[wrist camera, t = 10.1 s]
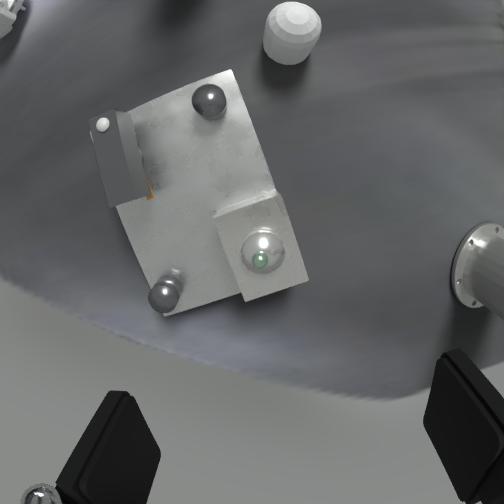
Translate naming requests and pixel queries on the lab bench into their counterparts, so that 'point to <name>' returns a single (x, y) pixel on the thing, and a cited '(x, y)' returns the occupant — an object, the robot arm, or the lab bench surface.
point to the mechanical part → (8, 14)
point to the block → (118, 157)
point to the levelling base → (207, 202)
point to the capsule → (291, 32)
